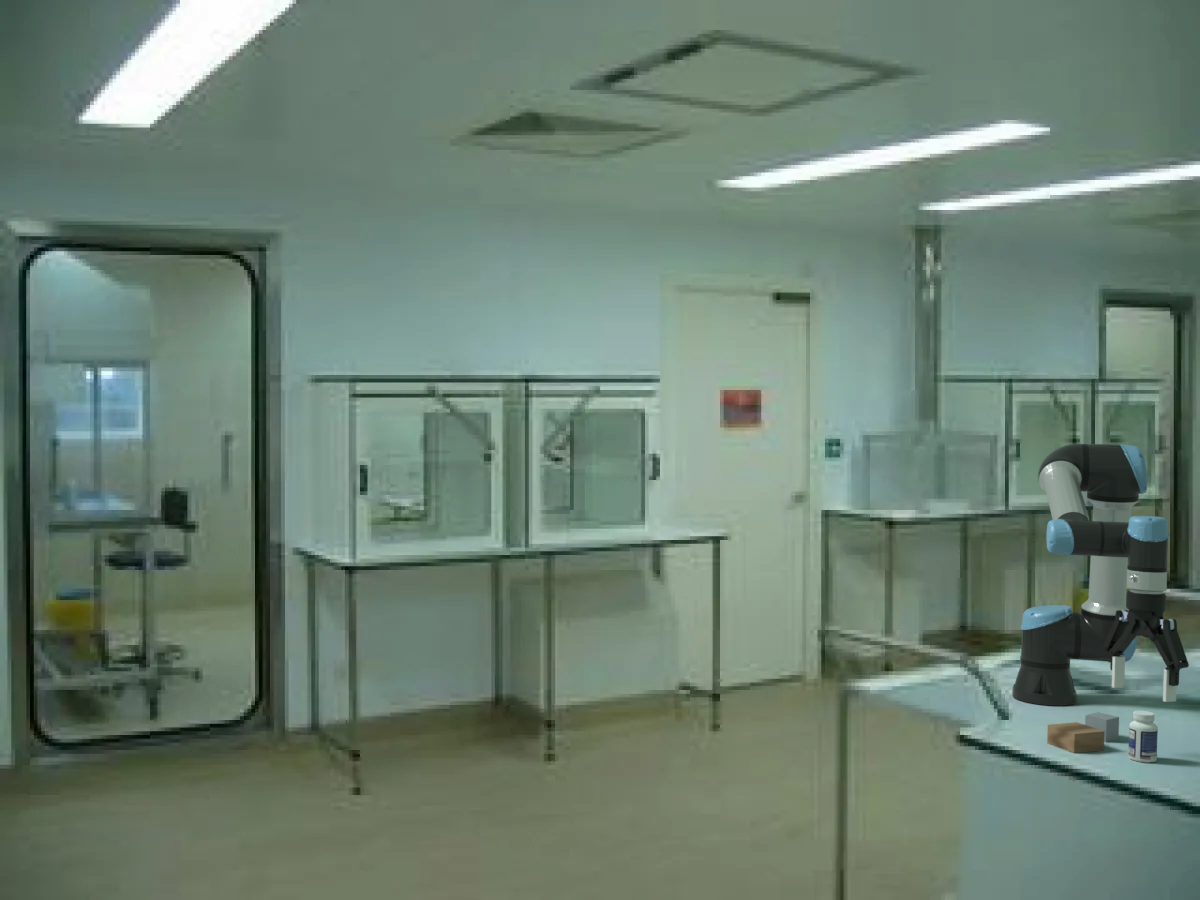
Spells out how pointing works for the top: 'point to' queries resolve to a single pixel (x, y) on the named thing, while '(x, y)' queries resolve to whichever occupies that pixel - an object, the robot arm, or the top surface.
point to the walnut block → (1075, 737)
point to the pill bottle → (1143, 737)
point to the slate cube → (1104, 724)
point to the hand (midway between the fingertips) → (1143, 694)
